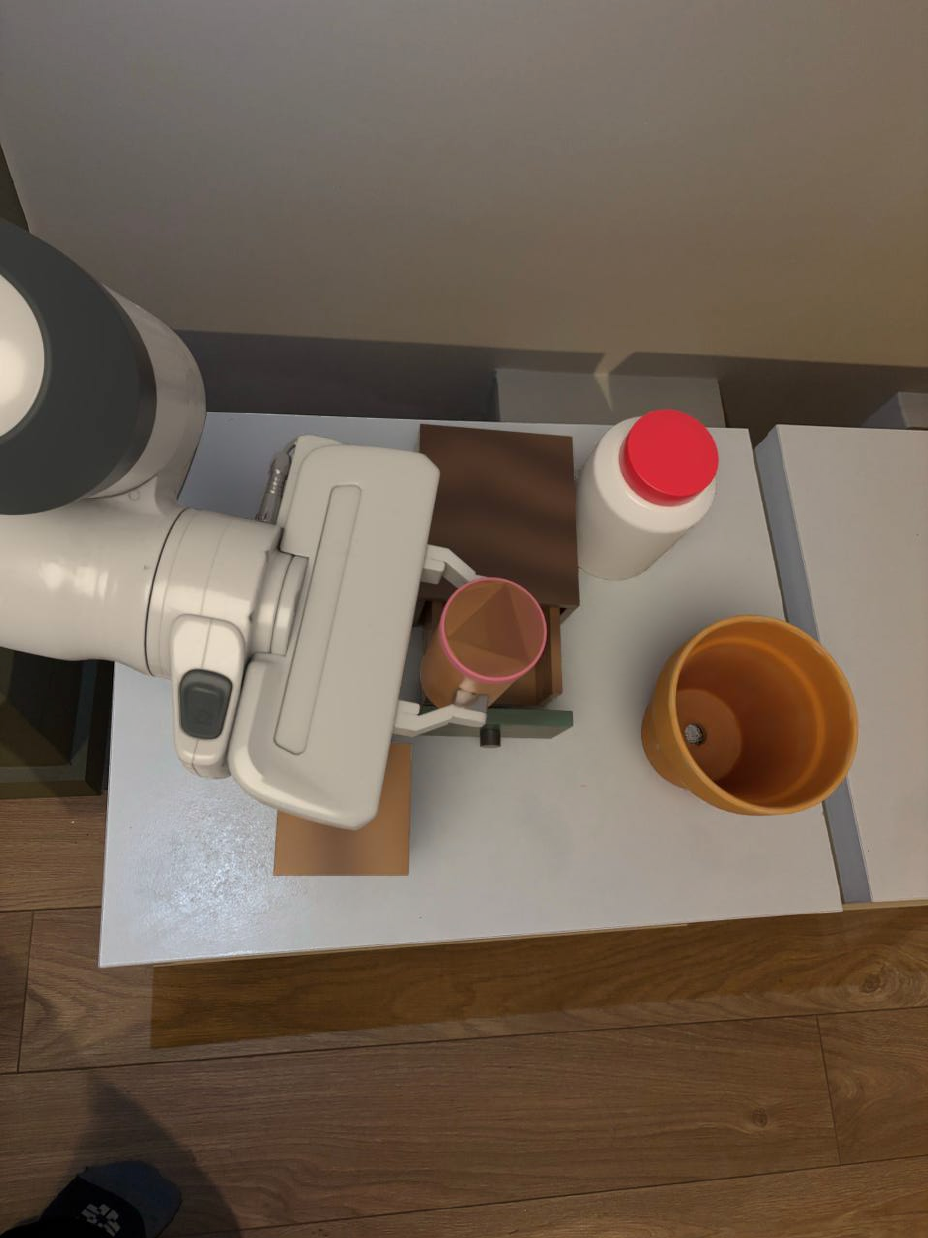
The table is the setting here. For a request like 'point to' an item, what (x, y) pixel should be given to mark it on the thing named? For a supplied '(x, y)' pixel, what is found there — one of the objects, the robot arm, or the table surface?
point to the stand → (353, 834)
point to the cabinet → (504, 511)
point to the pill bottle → (643, 492)
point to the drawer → (513, 692)
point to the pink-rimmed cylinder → (483, 641)
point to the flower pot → (753, 718)
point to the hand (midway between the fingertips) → (494, 655)
